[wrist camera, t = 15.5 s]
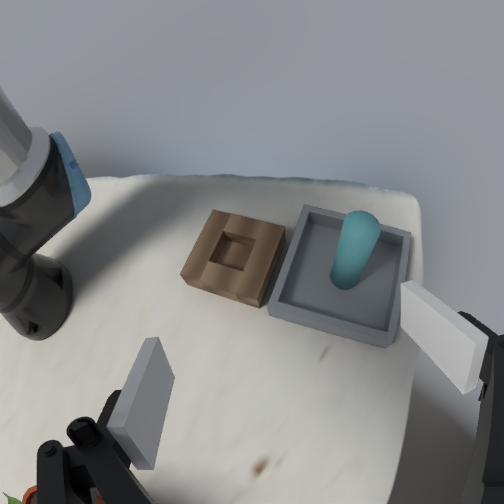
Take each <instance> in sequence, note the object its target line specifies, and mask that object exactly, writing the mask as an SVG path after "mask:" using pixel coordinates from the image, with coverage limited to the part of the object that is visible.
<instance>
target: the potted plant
mask: <svg viewBox="0 0 504 504" xmlns="http://www.w3.org/2000/svg"><path fill="white" fill-rule="evenodd" d="M4 495H5V496H6V497H7V498H8V504H37V485H35V486H33V487H31V488H29V489H28V490H27V491H26V493H25V494H24V496H23V500H22V502H21V501H19V500H17V499H16V498H13V497H9V496H8V495H6V494H5V493H4ZM96 499H97V503H98V504H106V503H105V501H104V500H103V499H102V498H100V497H98V496H96Z"/></svg>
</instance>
